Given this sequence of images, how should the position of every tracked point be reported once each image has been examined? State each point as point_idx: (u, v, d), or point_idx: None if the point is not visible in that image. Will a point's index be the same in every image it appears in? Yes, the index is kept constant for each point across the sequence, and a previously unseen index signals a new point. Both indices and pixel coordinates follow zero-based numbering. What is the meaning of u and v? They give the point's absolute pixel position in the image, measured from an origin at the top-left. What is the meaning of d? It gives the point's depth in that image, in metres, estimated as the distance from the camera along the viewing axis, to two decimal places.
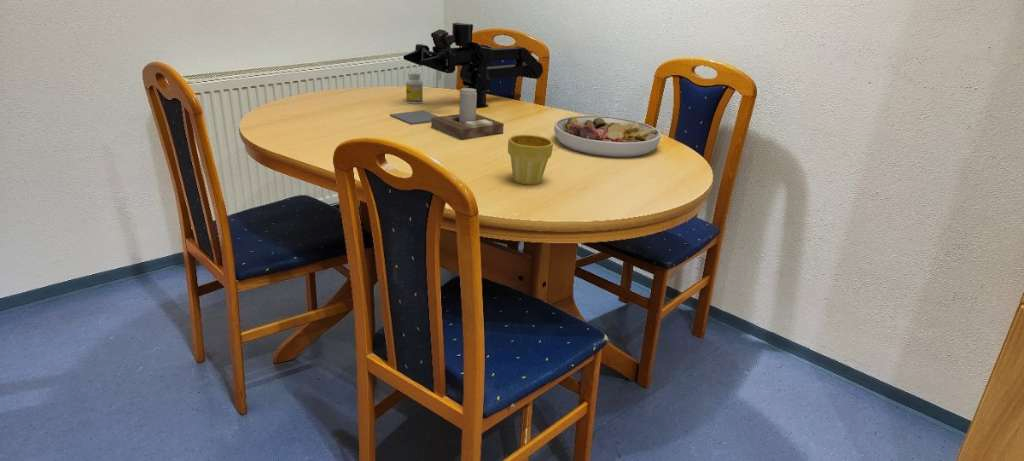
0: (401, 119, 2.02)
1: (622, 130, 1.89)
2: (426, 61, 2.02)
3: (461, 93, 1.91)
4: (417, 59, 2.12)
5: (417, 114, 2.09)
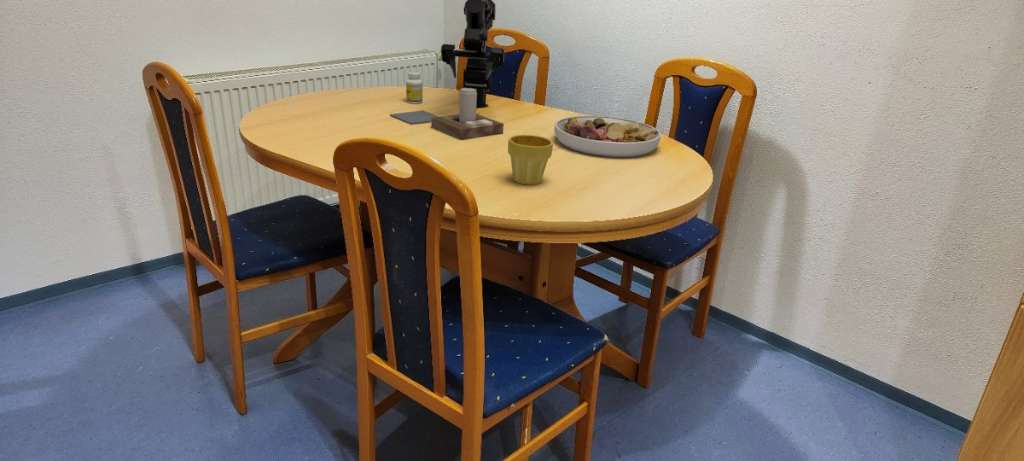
0: (401, 119, 2.02)
1: (622, 130, 1.88)
2: (488, 73, 1.99)
3: (461, 93, 1.91)
4: None
5: (417, 114, 2.09)
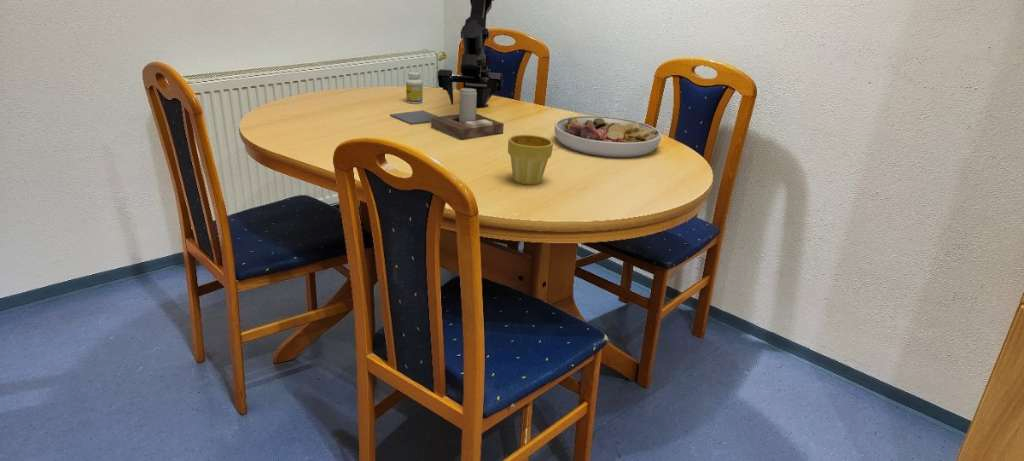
0: (401, 119, 2.02)
1: (622, 130, 1.88)
2: (486, 99, 1.93)
3: (461, 93, 1.91)
4: None
5: (417, 114, 2.09)
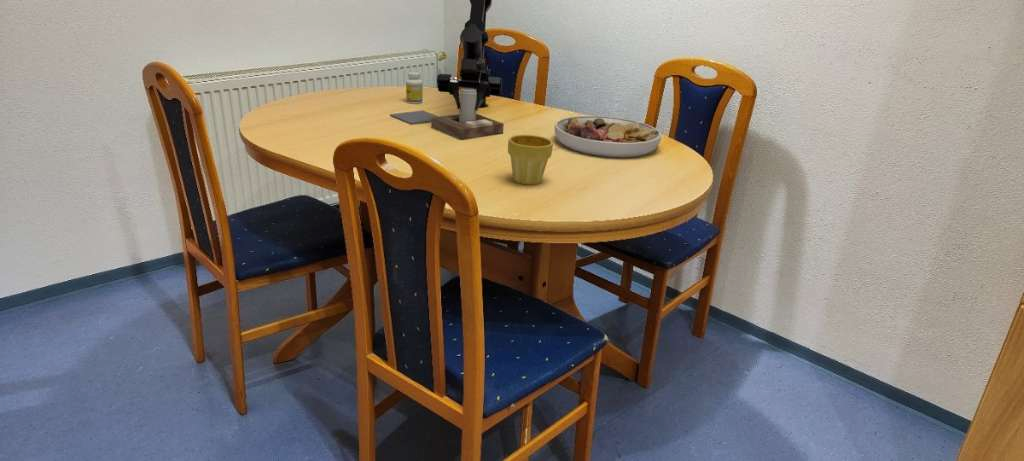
0: (401, 119, 2.02)
1: (623, 130, 1.88)
2: (479, 103, 1.93)
3: (461, 93, 1.91)
4: None
5: (417, 114, 2.09)
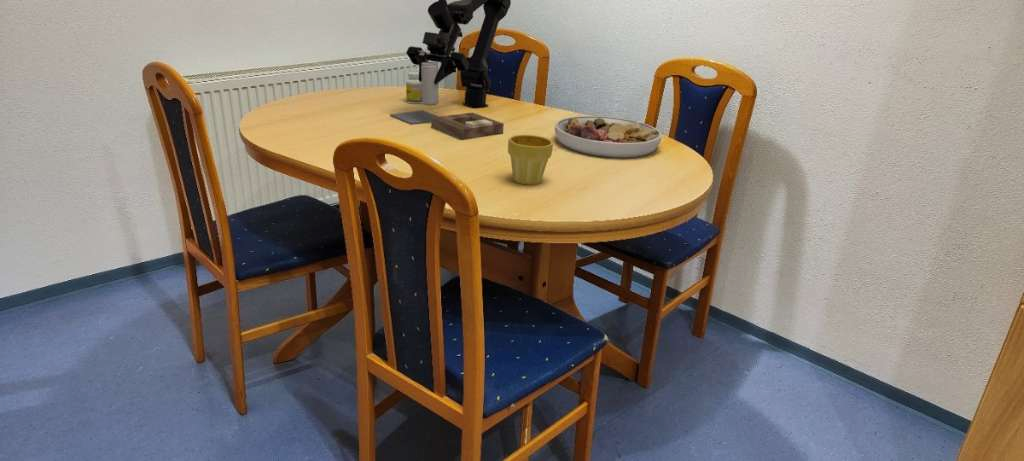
0: (401, 119, 2.02)
1: (623, 130, 1.88)
2: (439, 77, 1.96)
3: (421, 66, 1.95)
4: None
5: (417, 114, 2.09)
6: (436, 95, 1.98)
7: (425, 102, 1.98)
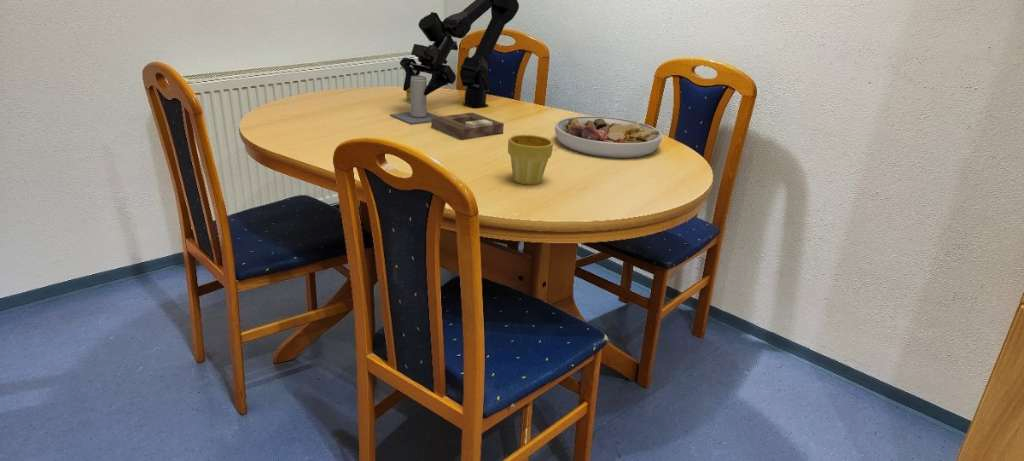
0: (401, 119, 2.02)
1: (623, 131, 1.88)
2: (428, 89, 2.00)
3: None
4: None
5: None
6: (423, 108, 2.04)
7: (412, 114, 2.04)
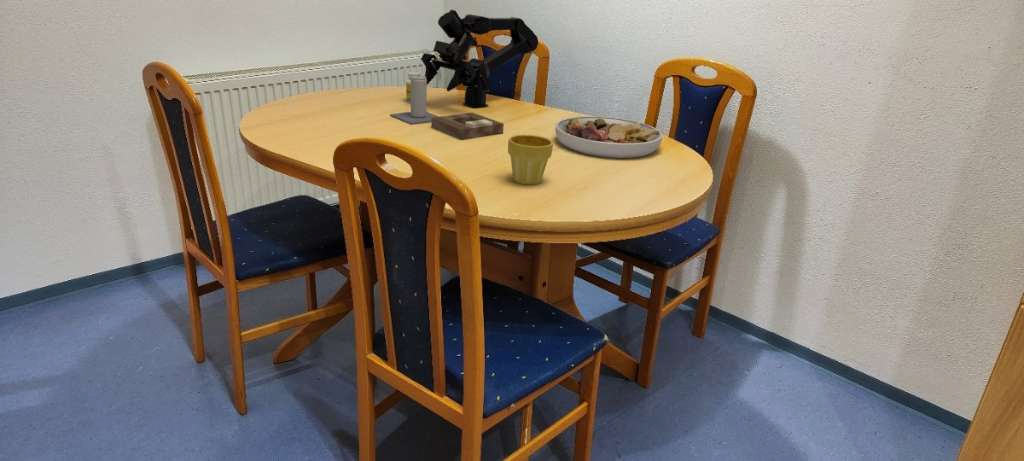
0: (401, 119, 2.02)
1: (624, 131, 1.88)
2: (451, 85, 2.07)
3: None
4: (432, 73, 2.14)
5: None
6: (423, 108, 2.04)
7: (412, 114, 2.04)
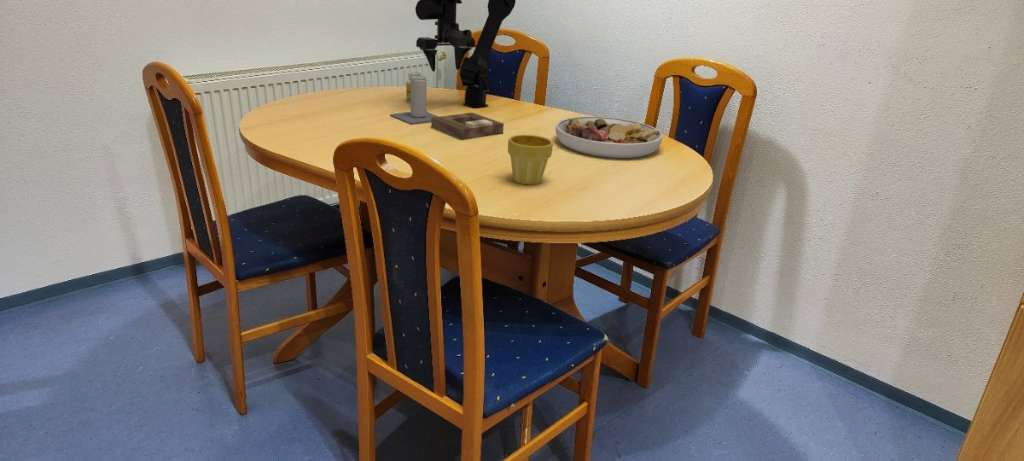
0: (401, 119, 2.02)
1: (624, 131, 1.88)
2: None
3: None
4: None
5: None
6: (423, 108, 2.04)
7: (412, 114, 2.04)
